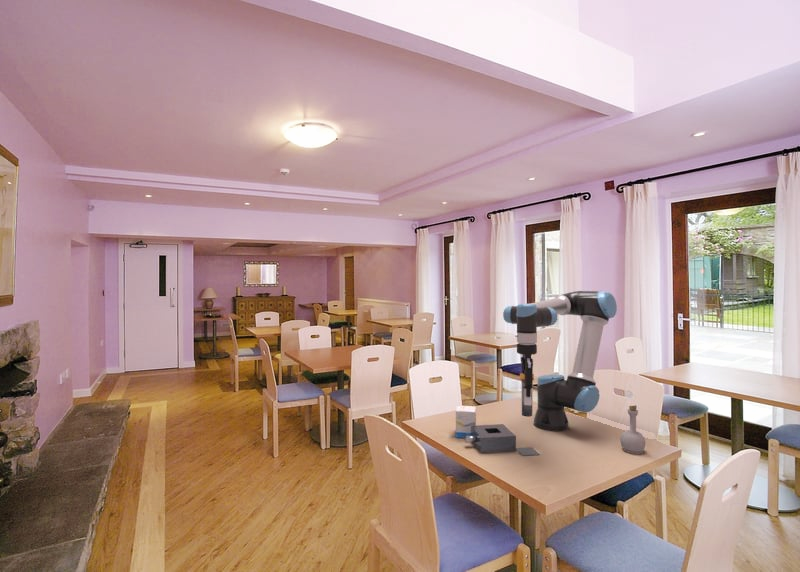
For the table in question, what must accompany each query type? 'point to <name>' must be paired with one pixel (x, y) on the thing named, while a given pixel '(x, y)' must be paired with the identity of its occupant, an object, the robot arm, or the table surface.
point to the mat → (527, 451)
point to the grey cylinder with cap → (525, 408)
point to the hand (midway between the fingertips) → (526, 403)
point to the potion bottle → (632, 435)
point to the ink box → (465, 420)
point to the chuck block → (492, 438)
